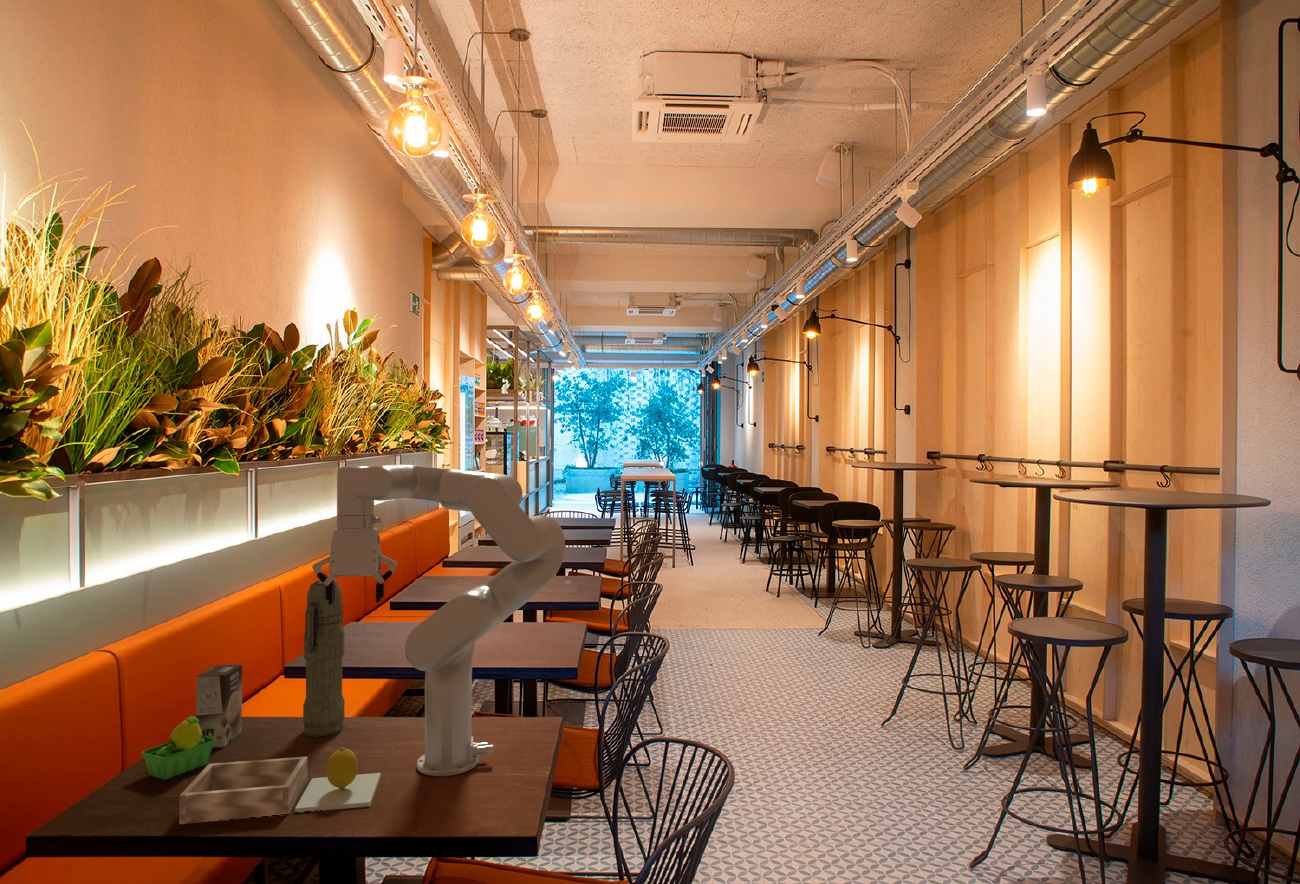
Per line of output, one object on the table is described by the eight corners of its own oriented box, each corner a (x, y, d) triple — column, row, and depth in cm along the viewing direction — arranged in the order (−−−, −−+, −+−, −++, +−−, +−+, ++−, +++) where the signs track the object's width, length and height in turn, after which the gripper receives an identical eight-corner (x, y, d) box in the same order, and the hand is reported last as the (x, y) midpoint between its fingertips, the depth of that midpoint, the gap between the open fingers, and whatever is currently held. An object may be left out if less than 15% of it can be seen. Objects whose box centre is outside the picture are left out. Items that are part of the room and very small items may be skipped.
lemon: (346, 797, 143) (347, 754, 143) (320, 794, 144) (320, 752, 145) (363, 784, 149) (363, 743, 149) (337, 782, 150) (338, 741, 150)
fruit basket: (194, 756, 164) (194, 704, 165) (221, 764, 161) (221, 710, 161) (139, 777, 154) (139, 721, 154) (166, 785, 150) (166, 728, 150)
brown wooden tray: (307, 781, 152) (307, 756, 152) (288, 814, 138) (288, 787, 138) (208, 789, 148) (208, 763, 148) (179, 824, 135) (179, 795, 135)
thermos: (354, 721, 185) (354, 577, 186) (328, 740, 173) (329, 586, 174) (319, 720, 186) (320, 577, 186) (292, 738, 174) (292, 585, 175)
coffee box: (225, 747, 169) (225, 675, 169) (194, 748, 169) (195, 676, 169) (242, 732, 178) (243, 663, 179) (213, 733, 178) (214, 664, 178)
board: (380, 776, 154) (380, 772, 154) (370, 806, 141) (370, 801, 141) (312, 782, 152) (312, 778, 152) (295, 812, 139) (295, 808, 139)
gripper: (399, 520, 170) (399, 597, 170) (317, 522, 167) (316, 600, 166) (395, 523, 163) (394, 604, 162) (308, 525, 159) (308, 607, 159)
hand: (355, 602), depth 164 cm, fingers open, 9 cm apart
